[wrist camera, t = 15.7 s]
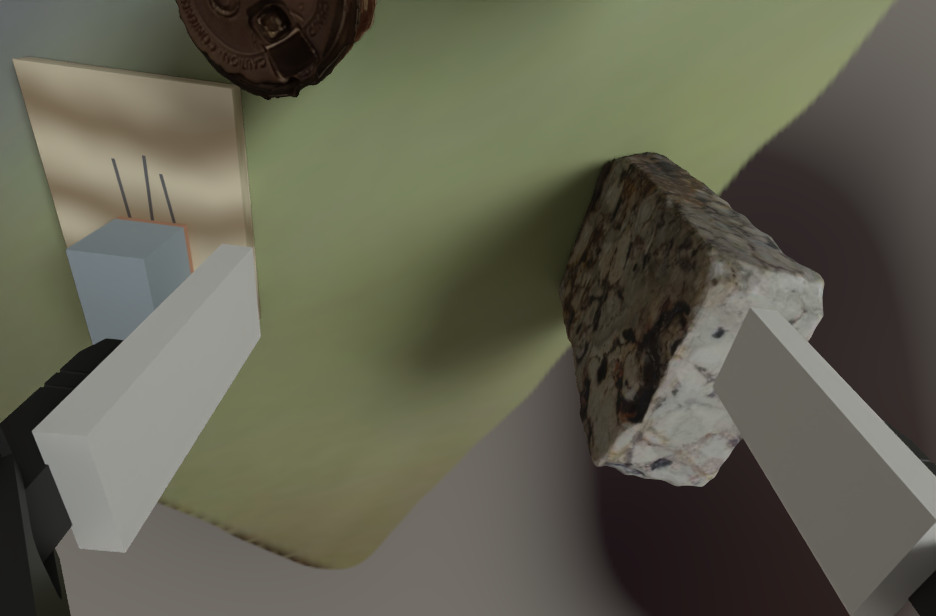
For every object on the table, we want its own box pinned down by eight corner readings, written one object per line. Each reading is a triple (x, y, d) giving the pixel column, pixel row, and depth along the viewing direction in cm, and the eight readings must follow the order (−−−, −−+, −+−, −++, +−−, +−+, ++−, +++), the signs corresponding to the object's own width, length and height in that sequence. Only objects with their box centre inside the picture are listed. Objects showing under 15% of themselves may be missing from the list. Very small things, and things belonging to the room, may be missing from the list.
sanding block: (118, 216, 40) (65, 249, 34) (186, 224, 40) (143, 259, 35) (138, 306, 44) (93, 348, 38) (200, 313, 44) (163, 356, 39)
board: (29, 56, 35) (12, 59, 34) (240, 85, 36) (231, 88, 35) (95, 298, 45) (84, 308, 44) (260, 317, 46) (254, 326, 45)
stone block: (627, 307, 45) (721, 501, 28) (547, 295, 44) (592, 485, 27) (684, 152, 38) (854, 283, 21) (590, 136, 38) (687, 257, 20)
